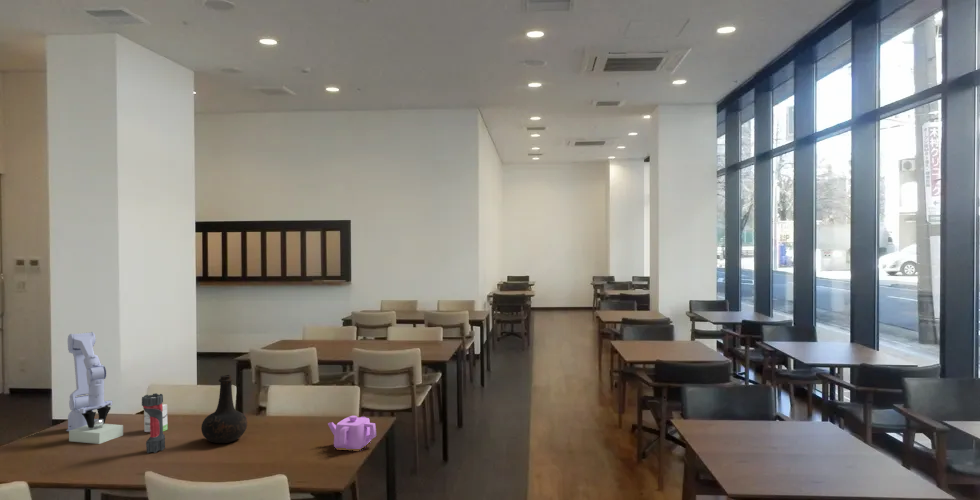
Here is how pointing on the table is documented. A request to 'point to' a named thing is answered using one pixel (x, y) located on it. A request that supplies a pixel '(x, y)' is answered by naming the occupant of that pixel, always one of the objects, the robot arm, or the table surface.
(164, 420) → the ink box
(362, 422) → the teakettle
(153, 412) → the flashlight
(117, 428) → the pin block
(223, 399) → the glass bottle
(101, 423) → the steel pin
